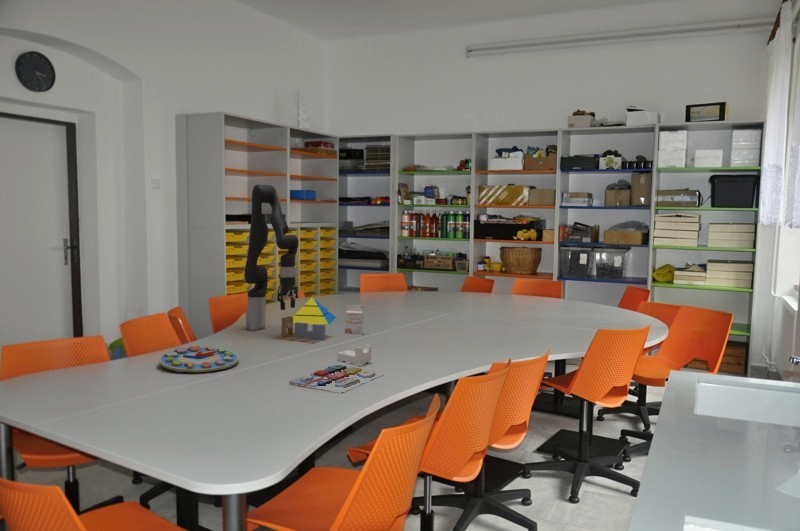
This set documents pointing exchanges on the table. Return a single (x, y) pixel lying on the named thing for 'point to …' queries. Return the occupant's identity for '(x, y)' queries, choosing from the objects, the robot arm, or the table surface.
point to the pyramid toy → (313, 314)
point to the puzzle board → (333, 377)
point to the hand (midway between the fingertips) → (287, 308)
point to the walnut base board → (298, 339)
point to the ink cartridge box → (354, 320)
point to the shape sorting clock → (198, 359)
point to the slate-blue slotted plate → (316, 332)
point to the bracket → (356, 355)
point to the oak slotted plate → (287, 326)
